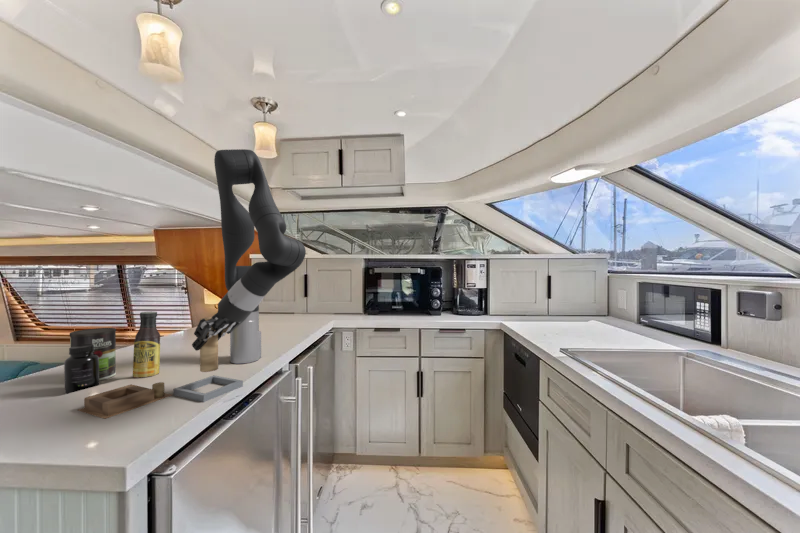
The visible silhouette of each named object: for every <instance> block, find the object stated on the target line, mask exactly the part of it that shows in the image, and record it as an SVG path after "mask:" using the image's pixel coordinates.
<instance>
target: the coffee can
mask: <svg viewBox="0 0 800 533" xmlns="http://www.w3.org/2000/svg"><path fill="white" fill-rule="evenodd" d="M116 333H117V328H113V327H98V328H88V329H87V328H86V329H81V330H80V329H79V330H75V331H71V332H69V340H70V342H69V343H70V344H69V346H70V347H72V346H77V345H83V344H93V345H94V352H93V353H94V354H96V355H98V357H99V382H100V381H103V380H107V379H111V378H113V377H114V376H116V374H117V372H116V370H117V369H116V368H117V367H116V366H117V364H116V362H117V361H116V357H117V356H116V353H117V352H116V348H117V344H116V339H117V337H116V336H117V335H116ZM70 347H69V348H70Z"/></svg>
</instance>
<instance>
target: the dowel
mask: <svg viewBox="0 0 800 533" xmlns="http://www.w3.org/2000/svg"><path fill="white" fill-rule="evenodd" d="M211 318H212V316H211V317H202V318H200V319H199V321H200V320H202V319H205V320H206V321H207V320H210V319H211ZM211 327H212V326H211ZM212 328H213V327H212ZM213 330H214V331H215V329H214V328H213ZM208 334H209V332H208V333H207V335H208ZM218 369H219V340H218V334H217V335H213V336H212V337H211V338H210V339H208V340H207V342H206V343H205V344H204V345H203V346H202V348H201V349H200V350H199V371H200V372H202V373H209V372H214V371H217V370H218Z"/></svg>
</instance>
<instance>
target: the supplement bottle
mask: <svg viewBox="0 0 800 533" xmlns="http://www.w3.org/2000/svg"><path fill="white" fill-rule="evenodd" d="M93 352H94V345H93V344H83V345H77V346H72V347H69V348H68V355H69V357H67V358H65V360H64V362H63V368H64V369H63V371H64V372H63V375H64V376H63V377H64V378H63V379H64V393H65V394H66V395H68V394H72V393H75V392H80V391H83V390H86V389H87V390H88V389H91V388H94V387H98V386H100V381H99V357H98V355H96V354H94V353H93Z"/></svg>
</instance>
